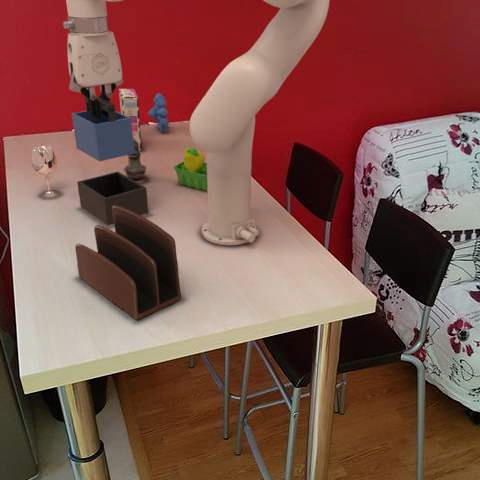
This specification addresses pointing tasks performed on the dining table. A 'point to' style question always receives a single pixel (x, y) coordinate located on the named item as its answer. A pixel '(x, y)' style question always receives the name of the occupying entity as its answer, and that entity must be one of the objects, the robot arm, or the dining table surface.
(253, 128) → the robot arm
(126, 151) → the blue tote
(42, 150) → the wineglass
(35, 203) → the dining table surface
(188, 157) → the fruit basket
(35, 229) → the dining table surface
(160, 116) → the grapes
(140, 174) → the grey chess piece
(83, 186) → the black tote
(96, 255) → the letter holder
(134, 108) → the candy bar box
